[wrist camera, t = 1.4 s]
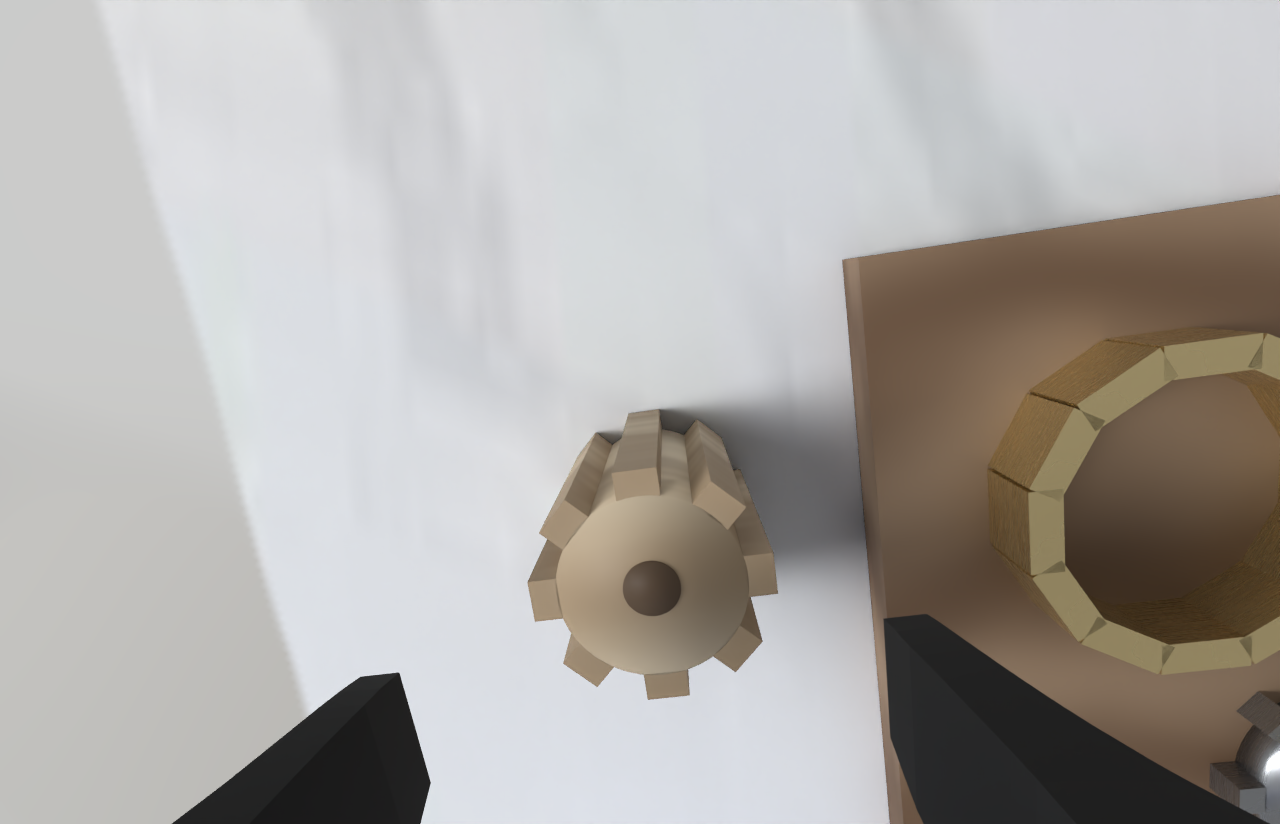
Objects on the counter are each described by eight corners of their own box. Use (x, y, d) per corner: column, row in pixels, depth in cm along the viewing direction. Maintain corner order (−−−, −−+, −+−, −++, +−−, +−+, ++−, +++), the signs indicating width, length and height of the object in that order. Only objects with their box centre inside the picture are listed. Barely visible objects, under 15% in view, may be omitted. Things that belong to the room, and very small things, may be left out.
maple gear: (751, 564, 20) (788, 687, 14) (585, 583, 20) (551, 712, 14) (731, 399, 19) (762, 454, 13) (557, 422, 19) (508, 487, 13)
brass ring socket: (1304, 611, 18) (1383, 652, 16) (994, 643, 18) (1034, 688, 16) (1319, 309, 16) (1410, 312, 14) (981, 355, 17) (1024, 365, 15)
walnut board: (1408, 827, 20) (1465, 869, 19) (894, 871, 21) (910, 914, 20) (1469, 166, 17) (1547, 155, 15) (842, 259, 18) (858, 257, 16)
